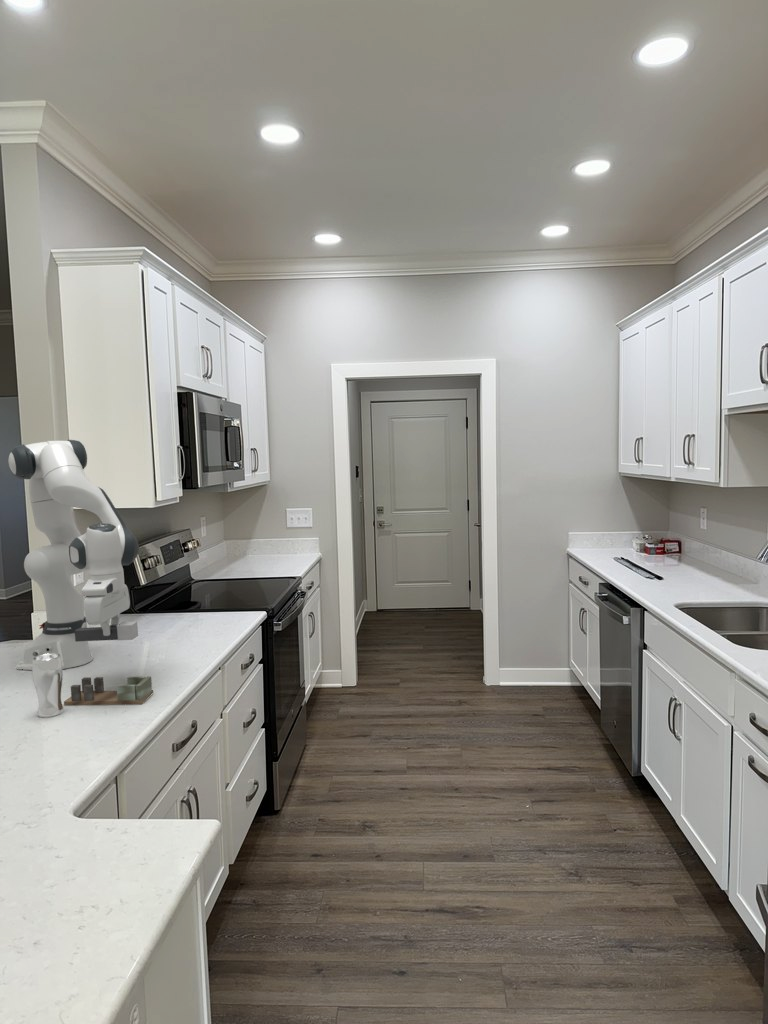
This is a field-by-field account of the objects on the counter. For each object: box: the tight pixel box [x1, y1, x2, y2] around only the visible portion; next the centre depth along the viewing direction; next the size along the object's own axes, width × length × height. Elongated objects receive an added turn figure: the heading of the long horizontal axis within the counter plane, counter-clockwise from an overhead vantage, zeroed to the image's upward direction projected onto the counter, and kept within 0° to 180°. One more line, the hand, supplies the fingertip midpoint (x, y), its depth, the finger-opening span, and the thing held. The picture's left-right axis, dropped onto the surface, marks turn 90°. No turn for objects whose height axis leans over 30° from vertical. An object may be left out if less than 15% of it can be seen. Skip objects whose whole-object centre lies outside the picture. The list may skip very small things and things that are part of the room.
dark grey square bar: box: [75, 621, 139, 642], centre depth 186 cm, size 16×4×4 cm, turn 88°
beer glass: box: [31, 653, 64, 718], centre depth 176 cm, size 7×7×15 cm
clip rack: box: [63, 675, 154, 706], centre depth 185 cm, size 21×8×5 cm, turn 88°
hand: (111, 633), depth 186 cm, fingers closed on dark grey square bar, 3 cm apart
